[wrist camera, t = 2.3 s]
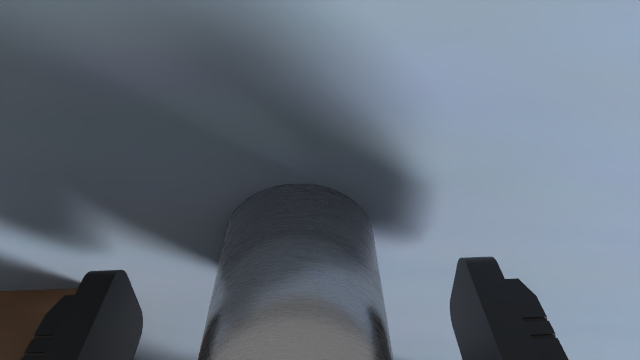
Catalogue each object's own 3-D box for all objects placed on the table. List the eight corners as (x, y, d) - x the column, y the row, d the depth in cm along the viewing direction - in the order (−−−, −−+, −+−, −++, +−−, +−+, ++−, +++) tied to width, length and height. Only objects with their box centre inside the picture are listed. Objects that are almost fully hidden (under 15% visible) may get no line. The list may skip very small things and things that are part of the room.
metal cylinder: (375, 180, 11) (423, 430, 7) (371, 289, 14) (404, 532, 9) (213, 186, 11) (142, 439, 7) (236, 294, 14) (196, 539, 9)
